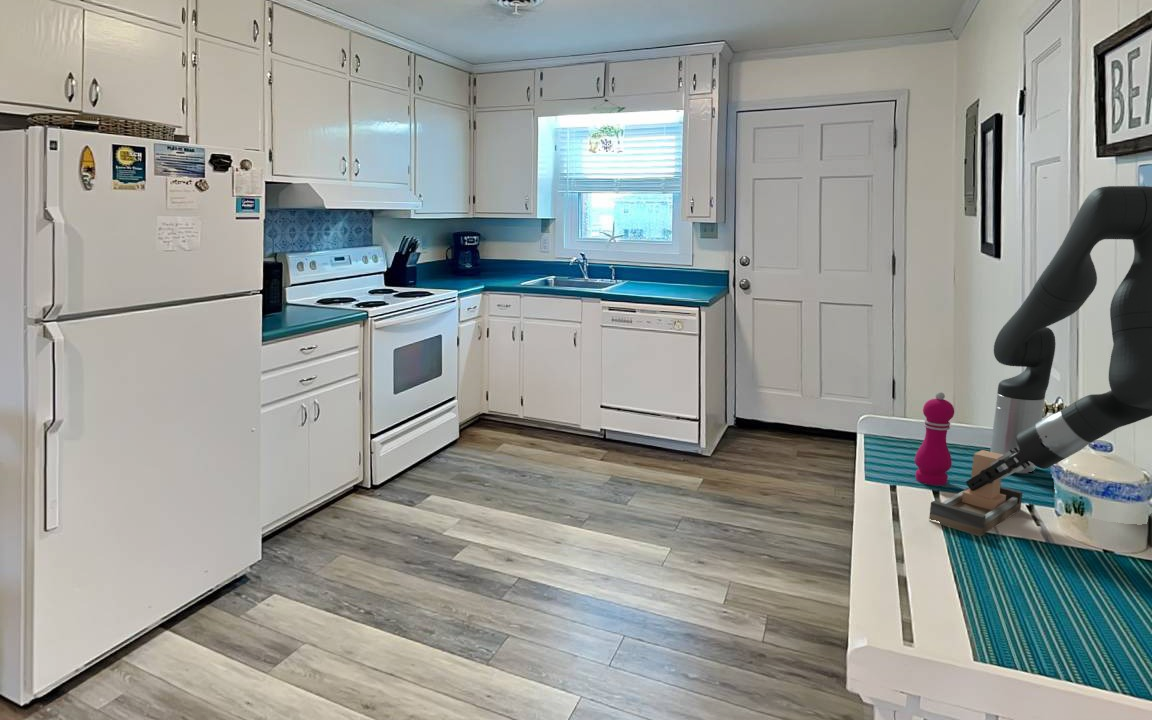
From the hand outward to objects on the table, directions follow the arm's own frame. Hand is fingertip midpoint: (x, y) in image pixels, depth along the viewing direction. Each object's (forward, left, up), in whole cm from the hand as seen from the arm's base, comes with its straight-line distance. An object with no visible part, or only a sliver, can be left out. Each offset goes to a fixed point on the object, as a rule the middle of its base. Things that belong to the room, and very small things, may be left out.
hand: (974, 483), depth 137 cm
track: (+3, +2, -5) cm, 6 cm away
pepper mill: (-10, -12, -5) cm, 16 cm away
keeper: (0, +2, -3) cm, 4 cm away
